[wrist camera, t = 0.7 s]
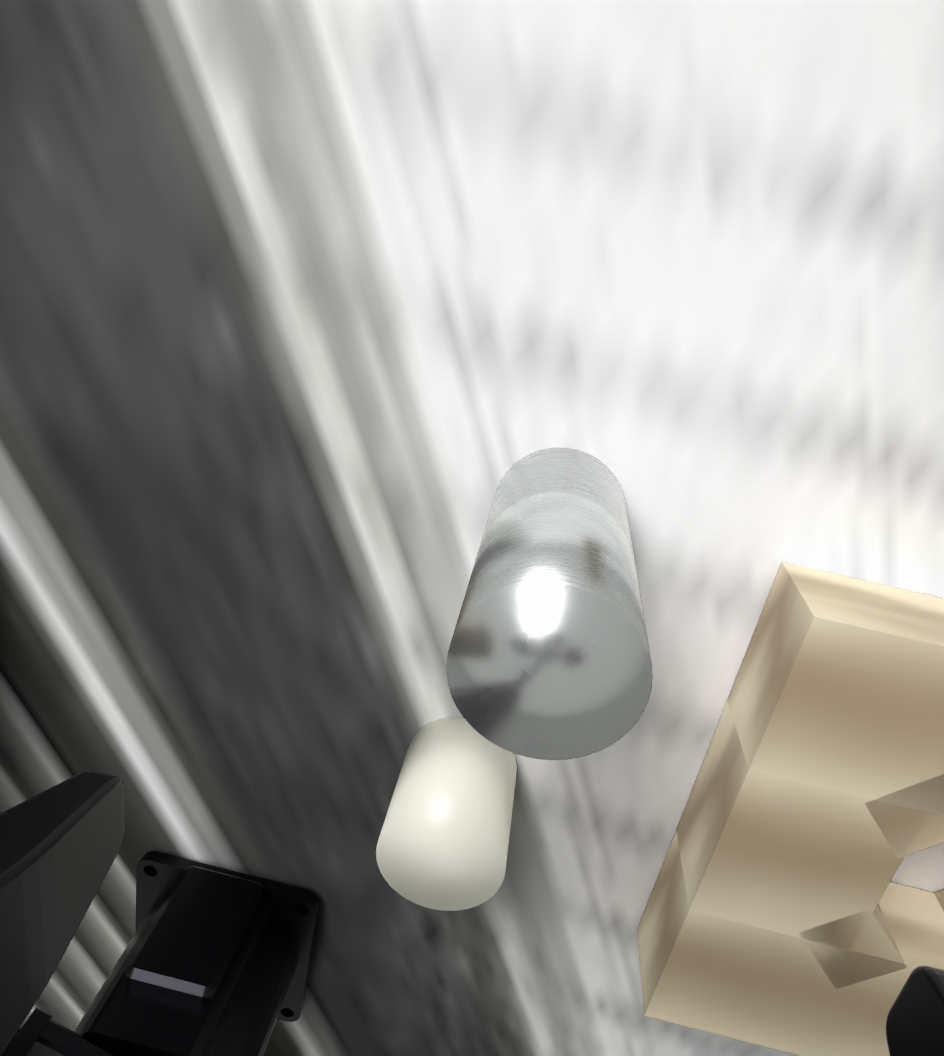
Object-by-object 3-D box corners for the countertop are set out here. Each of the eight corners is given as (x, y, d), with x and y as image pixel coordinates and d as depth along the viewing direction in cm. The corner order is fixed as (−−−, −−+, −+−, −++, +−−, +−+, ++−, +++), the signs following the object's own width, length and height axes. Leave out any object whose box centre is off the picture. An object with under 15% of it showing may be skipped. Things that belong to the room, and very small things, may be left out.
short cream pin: (504, 818, 25) (491, 924, 21) (399, 792, 25) (367, 892, 21) (528, 732, 23) (518, 829, 20) (416, 705, 23) (385, 796, 20)
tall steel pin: (606, 582, 21) (621, 779, 14) (482, 554, 21) (431, 733, 14) (641, 463, 20) (679, 611, 12) (508, 435, 20) (466, 562, 12)
